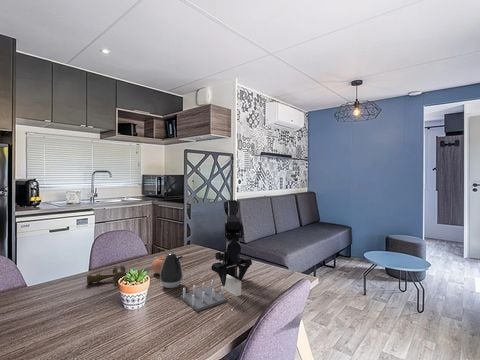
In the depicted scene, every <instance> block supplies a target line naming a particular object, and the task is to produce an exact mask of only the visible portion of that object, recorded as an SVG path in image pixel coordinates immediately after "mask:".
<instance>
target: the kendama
mask: <svg viewBox="0 0 480 360" xmlns="http://www.w3.org/2000/svg"><path fill="white" fill-rule="evenodd" d="M127 272H128V271H126V267H125V266H124V265H122V264H118V265H116V266H114V267H113V269H112V273H100V272H97V273H93V274H92V273H87V275H86V283H87V285H88V286H90V285H91V284H92V283H100V282H101V281H103V280H107V279H109V278H112V279H113V282H114V283H115V284H119V283H118V280H119V279H120V278H122V277H123V276H125V275H126V276H127V274H126V273H127ZM89 284H90V285H89Z"/></svg>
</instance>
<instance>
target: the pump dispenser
mask: <svg viewBox="0 0 480 360" xmlns="http://www.w3.org/2000/svg"><path fill="white" fill-rule="evenodd" d="M165 257H166V258H165ZM165 257H164V258H165V260H164V262H163V265H162V268H161V273H160V274H159V280H160V283H161V285H162V286H163V287H164V288H166V289H174V288H177V287H178V286H180V285H181V284H182V280H183V278H184V273H183V266H182V263H181V259H183V258H184V256H183V255H180V256H178V255H177V254H176V253H174V252H170V253H168V254H167V255H166V256H165Z"/></svg>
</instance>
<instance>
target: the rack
mask: <svg viewBox="0 0 480 360" xmlns="http://www.w3.org/2000/svg"><path fill="white" fill-rule="evenodd" d="M220 287H221V290H220V291H221V292H220V293H219V292H217V291H216V290H215V280H214V279H212V280H211V287H210V286H208V287H206V283H205V282H202V288H200V289H197V290H196V288H197V287H196V285H195V284H194V285H192V291H190V292H186V289H187V288H186V287H183V288H182V294H180V299H181V300H183V301H184V302H185V303H186V304H187V305H188V306H189V307H191V308H192V309H194V311H196V312H200V311H203V310H206V309H208V308H211V307H213V306H217V305H220V304H222V303H225V302H228V298H227V297H225V295H224V293H225V292H224V291H225V289H224V286H223V285H221V286H220Z"/></svg>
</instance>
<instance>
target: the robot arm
mask: <svg viewBox="0 0 480 360" xmlns="http://www.w3.org/2000/svg"><path fill="white" fill-rule="evenodd" d="M222 207H223V211H224V216H225V217H226V220H225V223H224V239H226V243H225V246H226V247H225V249H224V251H223V253H222V252H221V251H219V252H215V255H214V256H215V260H216V261H218V262H213V263H212V265H211V271H212V272H215V273H217V274H218V277H219V279H220V282H221V286H225V283H226V276H227V274H228V275H230V276H232V277H234V278H236V279H238V280H240V281H241V282H242V281H243V278H244V276H245V274H246V273H247V271H248V269H249V268H250V266H253V261H252V258H250V257H247V256H245V255H244V256H241V254H242V251H241V250H242V246H241V243H240V239H242V238H243V236H244V235H245V234H244V225H243V223H241V218H240V217H239V216H238V213H239V211H240V202H239V201H238V200H236V199H228V200H227V201H224V202H223V206H222Z"/></svg>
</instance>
